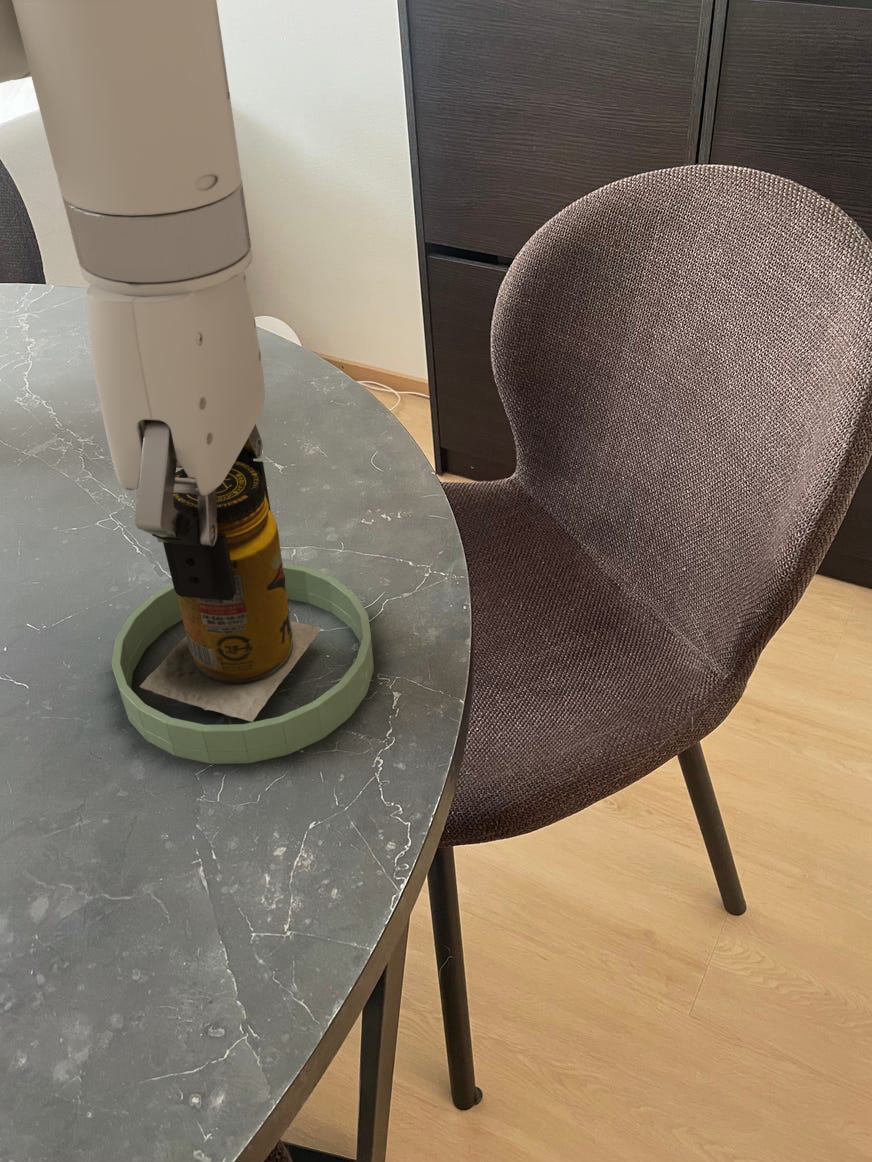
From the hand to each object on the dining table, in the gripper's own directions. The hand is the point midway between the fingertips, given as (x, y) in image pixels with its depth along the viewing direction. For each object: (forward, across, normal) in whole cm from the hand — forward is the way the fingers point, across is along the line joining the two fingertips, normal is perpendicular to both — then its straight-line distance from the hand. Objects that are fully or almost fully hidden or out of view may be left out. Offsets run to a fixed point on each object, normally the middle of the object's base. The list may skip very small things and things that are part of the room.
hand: (225, 554), depth 58 cm
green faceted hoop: (+10, 0, 0) cm, 10 cm away
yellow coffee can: (+7, +1, 0) cm, 8 cm away
